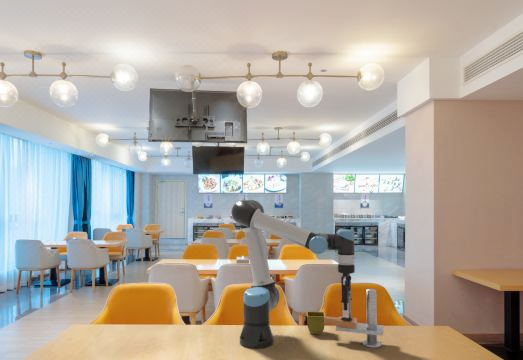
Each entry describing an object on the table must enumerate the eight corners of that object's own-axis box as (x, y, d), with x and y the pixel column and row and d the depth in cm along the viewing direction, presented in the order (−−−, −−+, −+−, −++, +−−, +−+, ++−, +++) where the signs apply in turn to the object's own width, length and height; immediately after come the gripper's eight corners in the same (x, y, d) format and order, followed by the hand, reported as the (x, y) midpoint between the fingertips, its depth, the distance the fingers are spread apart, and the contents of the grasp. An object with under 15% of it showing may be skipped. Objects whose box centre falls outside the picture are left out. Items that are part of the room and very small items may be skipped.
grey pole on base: (384, 342, 187) (383, 288, 188) (382, 349, 178) (382, 293, 179) (327, 336, 196) (326, 284, 197) (322, 342, 187) (322, 288, 188)
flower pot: (324, 330, 205) (324, 311, 205) (325, 336, 196) (325, 316, 197) (306, 329, 206) (306, 311, 206) (306, 335, 197) (306, 316, 198)
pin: (351, 324, 186) (350, 292, 186) (340, 323, 187) (340, 291, 188) (352, 321, 190) (352, 290, 191) (342, 320, 191) (342, 289, 192)
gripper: (351, 266, 181) (352, 321, 180) (356, 261, 196) (357, 312, 195) (334, 265, 183) (335, 320, 182) (340, 260, 199) (341, 310, 198)
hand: (346, 315), depth 189 cm, fingers closed on pin, 3 cm apart
